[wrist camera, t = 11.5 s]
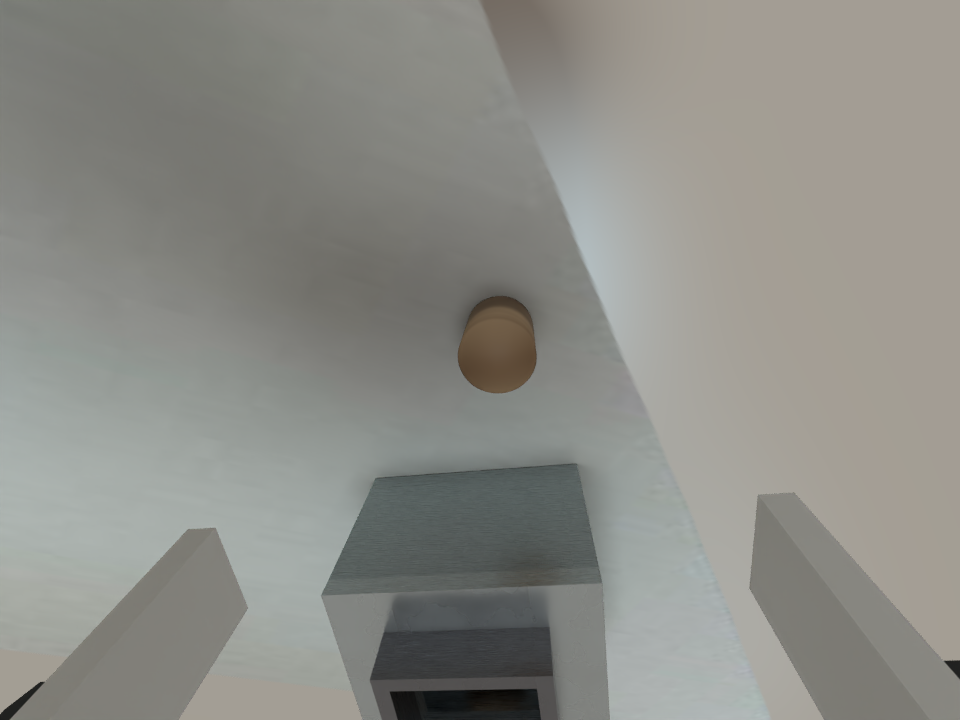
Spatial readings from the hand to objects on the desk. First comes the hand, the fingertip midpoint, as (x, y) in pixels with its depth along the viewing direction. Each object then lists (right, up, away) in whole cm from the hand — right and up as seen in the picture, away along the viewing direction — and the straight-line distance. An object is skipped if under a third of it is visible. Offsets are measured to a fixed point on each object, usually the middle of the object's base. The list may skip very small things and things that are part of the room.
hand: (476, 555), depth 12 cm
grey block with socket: (+1, -9, +23) cm, 25 cm away
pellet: (+1, +7, +17) cm, 18 cm away
